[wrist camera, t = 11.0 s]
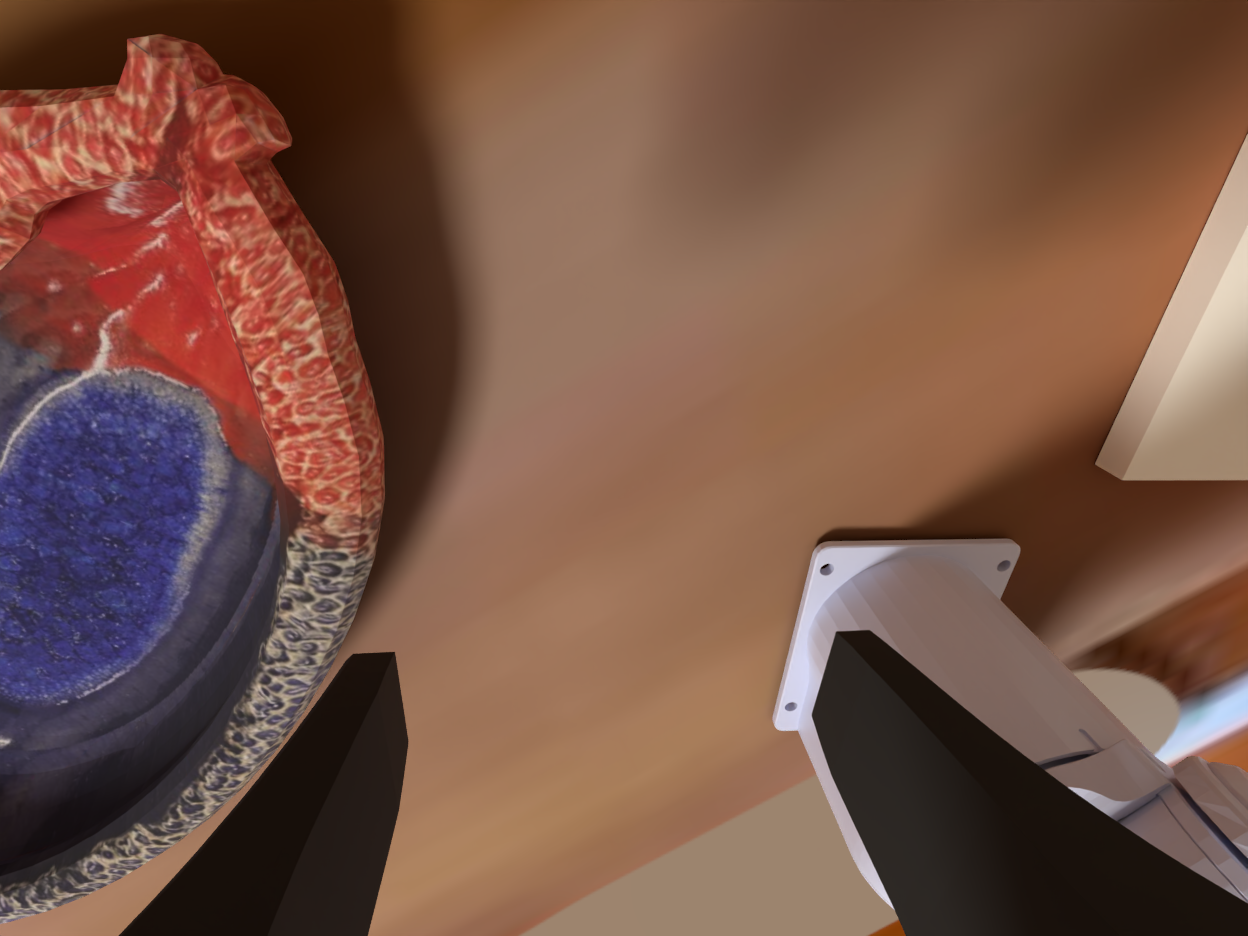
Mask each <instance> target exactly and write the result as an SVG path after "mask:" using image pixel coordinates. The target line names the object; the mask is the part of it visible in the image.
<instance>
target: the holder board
mask: <svg viewBox="0 0 1248 936" xmlns="http://www.w3.org/2000/svg"><path fill="white" fill-rule="evenodd" d="M1095 465H1097V466H1098V467H1100V468H1102V469H1104V470H1105V471H1107V472H1109V473H1110V474H1112V475H1114V476H1115V477H1117V478H1119V479H1120V480H1248V134H1247V136H1246V138H1245V141H1244V143H1243V145H1242V147H1241V149H1240V151H1239V154H1238V156H1237V158H1236V160H1235V162H1234V164H1233V167H1232V169H1231V171H1230V173H1229V175H1228V177H1227V180H1226V182H1225V184H1224V186H1223V188H1222V190H1221V192H1220V195H1219V197H1218V199H1217V201H1216V203H1215V205H1214V208H1213V210H1212V212H1211V214H1210V216H1209V218H1208V221H1207V223H1206V225H1205V227H1204V229H1203V231H1202V234H1201V236H1200V238H1199V240H1198V242H1197V244H1196V247H1195V249H1194V251H1193V253H1192V255H1191V257H1190V259H1189V262H1188V264H1187V266H1186V268H1185V270H1184V272H1183V275H1182V277H1181V279H1180V281H1179V283H1178V285H1177V288H1176V290H1175V292H1174V294H1173V296H1172V298H1171V301H1170V303H1169V305H1168V307H1167V309H1166V311H1165V313H1164V316H1163V318H1162V320H1161V322H1160V324H1159V326H1158V329H1157V331H1156V333H1155V335H1154V337H1153V339H1152V342H1151V344H1150V346H1149V348H1148V350H1147V352H1146V355H1145V357H1144V359H1143V361H1142V363H1141V365H1140V368H1139V370H1138V372H1137V374H1136V376H1135V378H1134V380H1133V383H1132V385H1131V387H1130V389H1129V391H1128V393H1127V396H1126V398H1125V400H1124V402H1123V404H1122V406H1121V409H1120V411H1119V413H1118V415H1117V417H1116V419H1115V422H1114V424H1113V426H1112V428H1111V430H1110V432H1109V434H1108V437H1107V439H1106V441H1105V443H1104V445H1103V447H1102V450H1101V452H1100V454H1099V456H1098V458H1097V460H1096V463H1095Z"/></svg>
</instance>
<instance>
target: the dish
mask: <svg viewBox="0 0 1248 936" xmlns="http://www.w3.org/2000/svg"><path fill="white" fill-rule="evenodd" d="M127 56H128V59H127V61H126V64H125V67H124V70H123V73H122V75H121V78H120V81H119V84H118V85H107V86H96V87H85V88H74V89H58V90H0V924H2V923H7V922H11V921H14V920H18V919H21V918H25V917H28V916H32V915H35V914H39V913H42V912H46V911H48V910H51V909H54V908H56V907H59V906H61V905H64V904H66V903H69V902H72V901H74V900H77V899H79V898H82V897H84V896H87V895H89V894H91V893H93V892H94V891H96V890H98V889H100V888H102V887H104V886H106V885H108V884H110V883H112V882H114V881H116V880H118V879H120V878H122V877H124V876H126V875H127V874H129V873H131V872H132V871H134V870H135V869H137V868H139V867H140V866H142V865H143V864H145V863H147V862H148V861H150V860H151V859H153V858H155V857H156V856H158V855H159V854H161V853H162V852H164V851H166V850H167V849H169V848H170V847H172V846H173V845H175V844H176V843H177V842H179V841H180V840H181V839H183V838H184V837H185V836H187V835H188V834H189V833H191V832H192V831H193V830H195V829H196V828H197V827H199V826H200V825H201V824H202V823H204V822H205V821H206V820H208V819H209V818H210V817H211V816H213V815H214V814H215V813H216V812H217V811H218V810H219V809H220V808H221V807H222V806H223V805H224V804H226V803H227V802H228V801H229V800H230V799H231V798H232V797H233V796H234V795H235V794H236V793H237V792H239V791H240V790H241V789H242V788H243V787H244V786H245V785H246V784H247V783H248V782H249V780H250V779H251V778H252V777H253V776H254V775H255V774H256V772H257V771H258V770H259V769H260V768H261V767H262V766H263V765H264V763H265V762H266V761H267V760H268V759H269V758H270V757H271V756H272V754H273V753H274V752H275V751H276V750H277V748H278V747H279V746H280V744H281V743H282V742H283V740H284V739H285V737H286V736H287V735H288V733H289V732H290V730H291V729H292V728H293V726H294V725H295V724H296V722H297V721H298V719H299V718H300V717H301V715H302V714H303V712H304V711H305V709H306V708H307V706H308V704H309V703H310V701H311V699H312V698H313V696H314V694H315V693H316V691H317V689H318V688H319V686H320V684H321V683H322V681H323V679H324V678H325V676H326V674H327V672H328V671H329V669H330V667H331V665H332V663H333V661H334V659H335V657H336V655H337V653H338V651H339V649H340V647H341V645H342V643H343V641H344V639H345V637H346V635H347V632H348V630H349V628H350V626H351V624H352V622H353V620H354V617H355V615H356V612H357V609H358V606H359V603H360V600H361V597H362V594H363V591H364V588H365V586H366V583H367V580H368V577H369V574H370V571H371V568H372V565H373V562H374V559H375V555H376V549H377V543H378V537H379V531H380V525H381V519H382V513H383V507H384V501H385V475H384V436H383V432H382V428H381V424H380V420H379V416H378V412H377V408H376V404H375V400H374V396H373V391H372V387H371V383H370V380H369V377H368V374H367V371H366V368H365V365H364V362H363V359H362V356H361V353H360V350H359V347H358V344H357V341H356V338H355V333H354V328H353V323H352V318H351V313H350V308H349V303H348V299H347V296H346V293H345V291H344V288H343V285H342V282H341V279H340V276H339V273H338V270H337V267H336V265H335V262H334V260H333V259H332V257H331V256H330V254H329V253H328V251H327V250H326V248H325V246H324V245H323V243H322V242H321V240H320V239H319V237H318V236H317V234H316V233H315V231H314V229H313V228H312V226H311V225H310V223H309V222H308V220H307V219H306V217H305V216H304V214H303V213H302V211H301V209H300V208H299V206H298V204H297V203H296V201H295V199H294V198H293V196H292V194H291V193H290V191H289V190H288V188H287V186H286V185H285V183H284V181H283V180H282V178H281V176H280V175H279V173H278V171H277V170H276V168H275V166H274V165H273V163H272V161H271V160H270V159H271V158H272V157H273V156H274V155H275V154H276V153H277V152H279V151H281V150H283V149H285V148H288V147H290V146H291V144H292V137H291V135H290V132H289V130H288V128H287V125H286V123H285V120H284V118H283V116H282V115H281V114H280V112H279V111H278V110H277V109H276V107H275V106H274V105H273V104H272V102H271V101H270V100H269V99H268V97H267V96H266V95H265V94H264V93H263V92H262V91H261V90H259V89H258V88H256V87H255V86H253V85H252V84H250V83H248V82H246V81H244V80H242V79H240V78H238V77H236V76H235V75H224V74H223V72H222V71H221V69H220V67H219V65H218V63H217V62H216V61H215V60H214V59H213V58H212V57H211V56H210V55H209V54H208V53H207V52H206V51H205V50H204V49H203V48H202V47H201V46H199V45H198V44H197V43H193V42H189V41H186V40H182V39H179V38H175V37H171V36H168V35H164V34H155V35H149V36H143V37H137V38H130V39H127Z"/></svg>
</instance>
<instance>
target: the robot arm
mask: <svg viewBox="0 0 1248 936" xmlns="http://www.w3.org/2000/svg"><path fill="white" fill-rule="evenodd" d="M1020 551H1021V549H1020V546H1019V545H1017V544H1016V543H1015V542H1014V541H1013V540H1011V539H947V540H880V541H828V542H823V543H821V544H819V545H818V546H817V547H816V548H815V549H814V552H813V554H812V558H811V563H810V567H809V571H808V575H807V579H806V583H805V587H804V591H803V595H802V599H801V603H800V608H799V612H798V616H797V620H796V624H795V628H794V632H793V636H792V640H791V644H790V648H789V652H788V657H787V661H786V665H785V669H784V673H783V677H782V681H781V685H780V689H779V693H778V697H777V701H776V706H775V710H774V714H773V723H774V725H775V727H776V728H777V729H778V730H780V731H794V730H798V732H799V734H800V736H801V739H802V741H803V743H804V746H805V748H806V750H807V753H808V755H809V757H810V760H811V762H812V764H813V767H814V769H815V771H816V774H817V776H818V778H819V780H820V783H821V785H822V787H823V790H824V792H825V795H826V797H827V799H828V801H829V804H830V806H831V808H832V811H833V813H834V816H835V818H836V820H837V822H838V825H839V827H840V830H841V832H842V834H843V836H844V839H845V841H846V843H847V846H848V848H849V850H850V853H851V855H852V857H853V859H854V861H855V863H856V865H857V867H858V868H859V870H860V872H861V873H862V875H863V876H864V878H865V879H866V880H867V881H868V883H869V884H870V886H871V887H872V888H873V889H874V890H875V891H876V892H877V894H878V895H879V896H880V897H881V898H882V899H883V900H884V901H885V902H886V903H887V904H888V905H890V906H891V907H892V908H893V909H894V910H895V912H896V914H897V916H898V918H899V921H900V923H901V925H902V927H903V930H904V932H905V934H906V936H1248V773H1247V772H1246V771H1244V770H1243V769H1241V768H1240V767H1237V766H1233V765H1228V764H1222V763H1217V762H1211V763H1209V762H1207V761H1206V760H1204V759H1202V758H1200V757H1196V756H1190V757H1187V758H1185V759H1184V760H1182V761H1181V762H1179V763H1178V764H1176V765H1175V766H1173V767H1172V768H1173V769H1172V768H1171V767H1169V766H1168V765H1166V764H1165V763H1163V762H1162V761H1160V760H1159V759H1157V758H1156V757H1155V756H1154V755H1153V754H1152V753H1151V752H1150V751H1149V750H1148V749H1147V748H1146V747H1145V746H1144V745H1143V744H1142V743H1141V742H1140V741H1139V740H1138V739H1137V738H1136V737H1135V736H1134V735H1133V734H1132V733H1131V732H1130V731H1129V730H1128V729H1127V728H1126V727H1125V726H1124V725H1123V724H1122V723H1121V722H1120V721H1119V720H1118V719H1117V718H1116V716H1115V715H1114V714H1113V713H1112V712H1110V711H1109V709H1107V708H1106V706H1105V705H1104V704H1103V703H1102V702H1101V701H1100V700H1099V699H1098V698H1097V697H1096V696H1095V695H1094V694H1093V693H1091V691H1090V690H1089V689H1088V688H1087V687H1086V686H1085V685H1084V684H1083V683H1082V682H1081V681H1080V680H1079V679H1078V678H1077V677H1076V676H1075V675H1074V674H1073V673H1072V672H1071V671H1070V670H1069V669H1068V668H1067V667H1066V666H1065V665H1064V664H1063V663H1062V662H1061V661H1060V660H1059V659H1058V658H1057V657H1056V656H1055V655H1054V654H1053V653H1052V652H1051V651H1050V650H1049V649H1048V648H1047V647H1046V646H1045V645H1044V644H1043V643H1042V642H1041V641H1040V640H1039V639H1038V638H1037V637H1036V636H1035V635H1034V634H1033V633H1032V632H1031V631H1030V630H1029V629H1028V628H1027V627H1026V626H1025V625H1024V624H1023V622H1022V621H1021V620H1020V619H1019V618H1018V617H1017V616H1016V615H1015V614H1014V613H1013V612H1012V611H1011V610H1010V609H1009V608H1008V607H1007V606H1006V605H1005V604H1004V603H1003V602H1002V601H1001V600H1000V599H1001V597H1002V594H1003V592H1004V590H1005V587H1006V585H1007V583H1008V580H1009V578H1010V576H1011V573H1012V571H1013V569H1014V567H1015V564H1016V562H1017V560H1018V557H1019V555H1020ZM999 563H1000V564H999ZM825 564H829V565H828V566H827V567H826V568H823V569H821V567H822V566H823V565H825ZM407 749H408V736H407V729H406V723H405V716H404V709H403V703H402V696H401V690H400V683H399V676H398V670H397V663H396V656H395V652H383V653H362V654H353V655H352V656H350V657H349V658H348V659H347V660H346V661H345V663H344V664H343V666H342V667H341V669H340V670H339V672H338V673H337V674H336V676H335V677H334V679H333V680H332V682H331V683H330V684H329V686H328V687H327V689H326V690H325V692H324V693H323V694H322V696H321V697H320V699H319V700H318V701H317V703H316V704H315V705H314V707H313V708H312V710H311V711H310V712H309V714H308V715H307V716H306V718H305V719H304V720H303V722H302V723H301V724H300V726H299V727H298V728H297V730H296V731H295V732H294V734H293V735H292V736H291V738H290V739H289V740H288V742H287V743H286V744H285V745H284V747H283V748H282V749H281V750H280V752H279V753H278V754H277V756H276V757H275V758H274V759H273V761H272V762H271V763H270V765H269V766H268V767H267V768H266V770H265V771H264V772H263V773H262V775H261V776H260V777H259V779H258V780H257V781H256V782H255V784H254V785H253V786H252V787H251V789H250V790H249V791H248V792H247V793H246V795H245V796H244V797H243V798H242V799H241V801H240V802H239V803H238V804H237V805H236V806H235V808H234V809H233V810H232V811H231V812H230V813H229V815H228V816H227V817H226V818H225V819H224V820H223V822H222V823H221V824H220V825H219V826H218V827H217V829H216V830H215V831H214V832H213V833H212V835H211V836H210V837H209V838H208V839H207V840H206V842H205V843H204V844H203V845H202V846H201V847H200V849H199V850H198V851H197V852H196V853H195V854H194V855H193V857H192V858H191V859H190V860H189V861H188V862H187V863H186V864H185V865H184V867H183V868H182V869H181V870H180V871H179V872H178V873H177V874H176V875H175V876H174V878H173V879H172V880H171V881H170V882H169V883H168V884H167V885H166V886H165V887H164V889H163V890H162V891H161V892H160V893H159V894H158V895H157V896H156V897H155V898H154V899H153V900H152V901H151V902H150V904H149V905H148V906H147V907H146V908H145V909H144V910H143V911H142V912H141V913H140V914H139V915H138V916H137V917H136V918H135V919H134V920H133V921H132V922H131V923H130V924H129V925H128V926H127V928H126V929H125V930H124V931H123V932H122V933H121V934H120V935H119V936H368V932H369V928H370V924H371V920H372V916H373V912H374V908H375V904H376V900H377V896H378V892H379V888H380V885H381V881H382V877H383V873H384V869H385V865H386V861H387V857H388V852H389V848H390V844H391V840H392V836H393V832H394V828H395V824H396V820H397V816H398V812H399V806H400V799H401V792H402V785H403V779H404V771H405V764H406V756H407Z"/></svg>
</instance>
